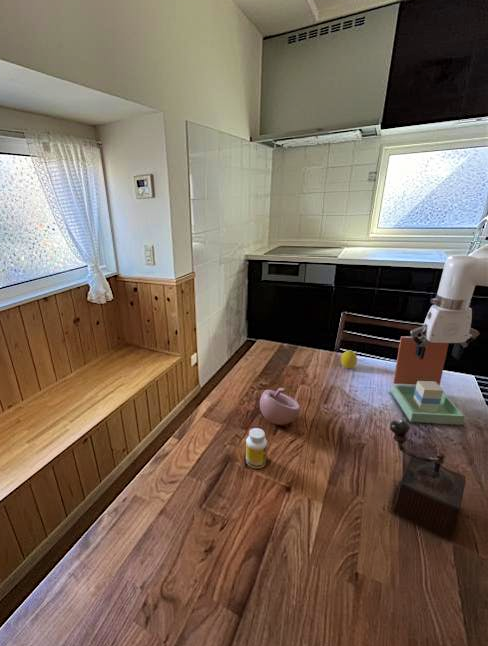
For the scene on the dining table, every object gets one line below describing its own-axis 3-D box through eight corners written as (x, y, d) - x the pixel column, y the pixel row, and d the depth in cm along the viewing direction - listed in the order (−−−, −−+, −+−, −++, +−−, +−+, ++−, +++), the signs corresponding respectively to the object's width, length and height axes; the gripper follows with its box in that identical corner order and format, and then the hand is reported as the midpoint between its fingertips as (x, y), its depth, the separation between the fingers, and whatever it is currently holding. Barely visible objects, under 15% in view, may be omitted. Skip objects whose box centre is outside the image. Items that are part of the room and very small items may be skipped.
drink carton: (429, 402, 107) (435, 381, 104) (437, 412, 103) (443, 390, 100) (411, 401, 108) (417, 380, 105) (418, 411, 104) (424, 389, 100)
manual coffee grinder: (456, 504, 75) (479, 442, 68) (449, 541, 68) (474, 477, 61) (380, 471, 85) (393, 414, 78) (367, 500, 78) (380, 440, 70)
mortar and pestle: (307, 424, 103) (310, 393, 98) (275, 438, 98) (277, 406, 94) (281, 404, 113) (282, 375, 108) (251, 416, 108) (252, 386, 104)
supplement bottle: (266, 470, 88) (267, 441, 84) (245, 468, 89) (245, 439, 85) (266, 455, 93) (267, 426, 89) (246, 453, 94) (246, 425, 90)
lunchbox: (461, 426, 98) (465, 416, 96) (409, 423, 100) (412, 413, 99) (435, 395, 112) (438, 386, 110) (391, 393, 114) (393, 384, 113)
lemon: (341, 371, 129) (343, 353, 125) (338, 364, 134) (341, 346, 130) (356, 372, 127) (359, 354, 124) (353, 365, 132) (356, 347, 129)
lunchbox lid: (450, 338, 104) (448, 337, 105) (401, 337, 107) (400, 336, 107) (439, 385, 109) (438, 384, 110) (393, 383, 112) (393, 382, 113)
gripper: (424, 307, 90) (410, 363, 97) (497, 306, 87) (478, 364, 94) (411, 298, 97) (399, 351, 104) (479, 297, 94) (462, 351, 101)
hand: (437, 357), depth 99 cm, fingers open, 9 cm apart
